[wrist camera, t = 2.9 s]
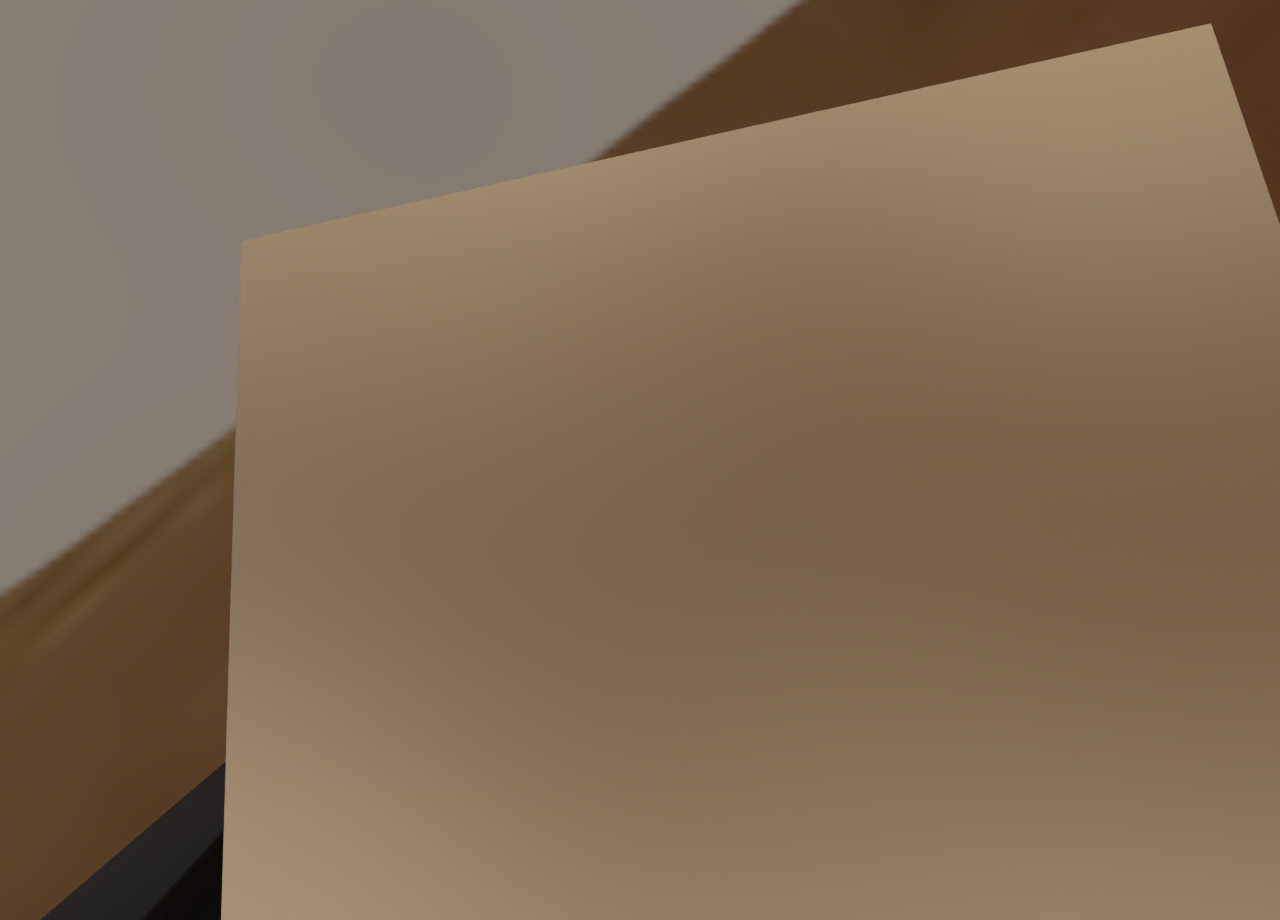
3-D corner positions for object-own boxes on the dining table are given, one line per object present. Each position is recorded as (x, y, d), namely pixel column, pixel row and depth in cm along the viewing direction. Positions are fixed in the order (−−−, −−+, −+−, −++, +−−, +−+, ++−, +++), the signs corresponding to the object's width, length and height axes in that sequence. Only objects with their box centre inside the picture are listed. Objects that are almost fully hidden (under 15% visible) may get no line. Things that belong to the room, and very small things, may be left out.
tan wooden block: (993, 765, 16) (1589, 1089, 3) (668, 792, 17) (207, 1108, 4) (939, 495, 17) (1219, 13, 5) (642, 537, 18) (235, 236, 6)
